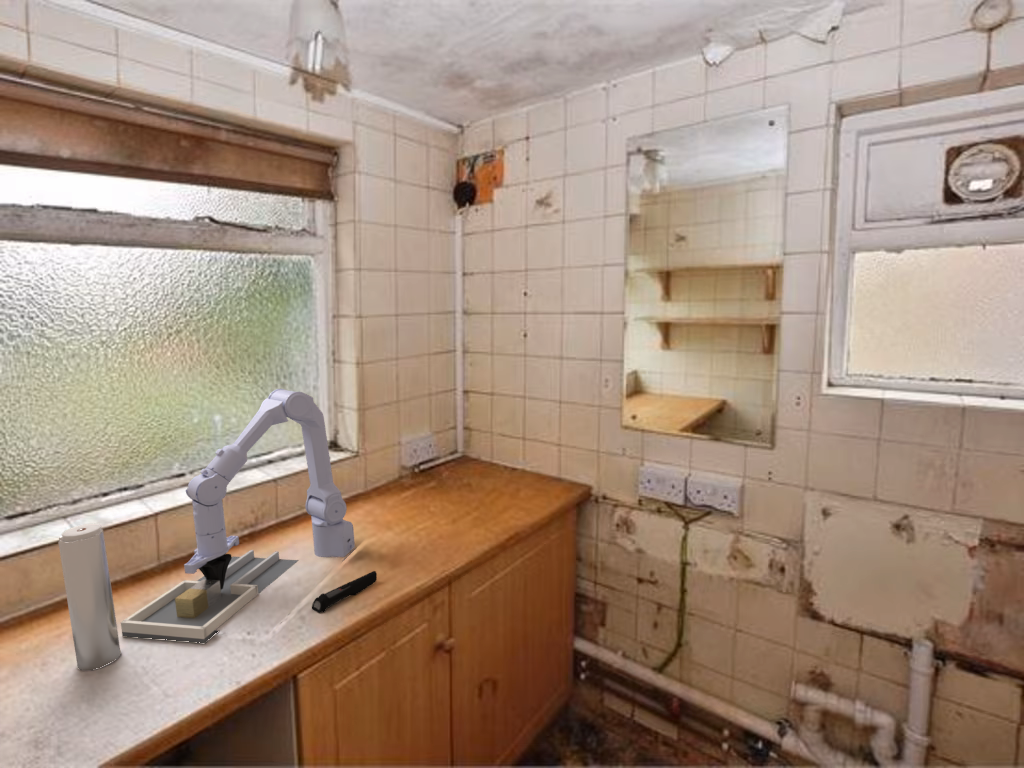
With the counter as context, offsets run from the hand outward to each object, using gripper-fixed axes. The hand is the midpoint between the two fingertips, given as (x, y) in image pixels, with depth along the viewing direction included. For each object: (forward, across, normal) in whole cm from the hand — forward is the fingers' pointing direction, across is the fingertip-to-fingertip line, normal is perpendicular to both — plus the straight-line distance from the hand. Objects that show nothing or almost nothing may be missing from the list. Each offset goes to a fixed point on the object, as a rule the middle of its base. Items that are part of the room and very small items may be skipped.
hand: (217, 589), depth 124 cm
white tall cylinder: (+2, +23, -7) cm, 24 cm away
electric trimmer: (+2, -4, +28) cm, 28 cm away
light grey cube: (+1, +3, 0) cm, 4 cm away
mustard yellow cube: (+1, +7, 0) cm, 7 cm away
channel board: (+2, -1, 0) cm, 2 cm away
